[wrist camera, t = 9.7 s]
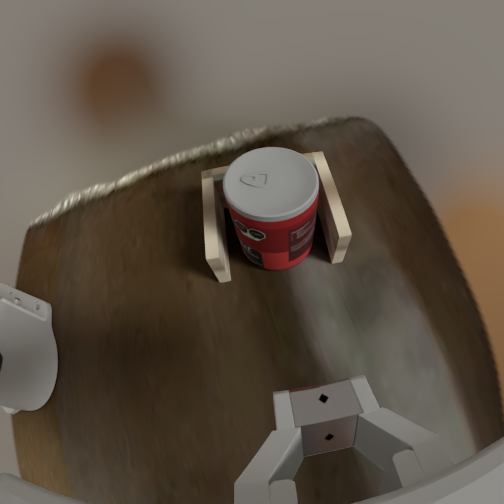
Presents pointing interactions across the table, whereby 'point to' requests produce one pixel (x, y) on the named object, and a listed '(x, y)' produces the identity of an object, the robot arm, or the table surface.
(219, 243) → the dock
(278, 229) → the canned food
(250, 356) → the table surface
